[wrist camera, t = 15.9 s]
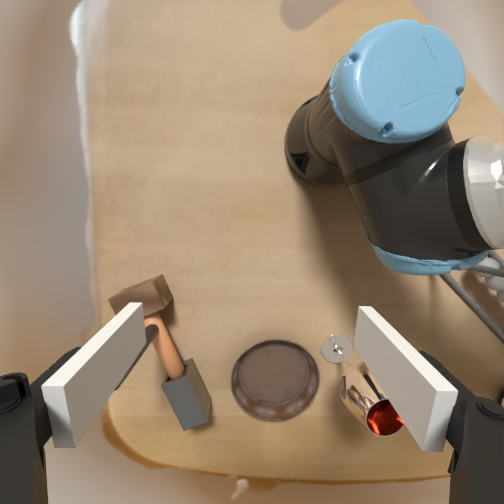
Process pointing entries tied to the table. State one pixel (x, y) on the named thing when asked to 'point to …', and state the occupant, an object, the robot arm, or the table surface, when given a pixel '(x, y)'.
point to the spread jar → (501, 400)
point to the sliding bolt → (159, 347)
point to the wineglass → (361, 390)
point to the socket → (144, 296)
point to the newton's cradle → (496, 278)
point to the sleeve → (188, 396)
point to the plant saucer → (275, 379)
